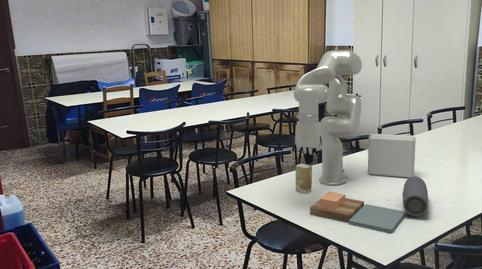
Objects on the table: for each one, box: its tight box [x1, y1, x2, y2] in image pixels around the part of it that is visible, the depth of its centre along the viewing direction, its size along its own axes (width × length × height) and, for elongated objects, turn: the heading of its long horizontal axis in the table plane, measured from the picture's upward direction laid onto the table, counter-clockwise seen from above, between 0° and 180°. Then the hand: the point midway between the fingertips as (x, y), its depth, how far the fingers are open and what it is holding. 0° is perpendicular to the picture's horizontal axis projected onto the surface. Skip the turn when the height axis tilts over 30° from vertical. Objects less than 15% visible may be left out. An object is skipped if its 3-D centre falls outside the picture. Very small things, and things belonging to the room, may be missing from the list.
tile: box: [319, 191, 346, 209], centre depth 171 cm, size 9×7×3 cm
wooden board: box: [309, 197, 365, 224], centre depth 170 cm, size 16×16×3 cm
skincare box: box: [295, 163, 313, 195], centre depth 193 cm, size 6×4×12 cm
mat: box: [348, 203, 407, 234], centre depth 161 cm, size 18×16×2 cm
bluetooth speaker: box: [402, 175, 429, 217], centre depth 169 cm, size 23×9×10 cm, turn 159°
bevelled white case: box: [367, 133, 417, 179], centre depth 208 cm, size 21×8×20 cm, turn 65°
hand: (309, 162), depth 173 cm, fingers closed
